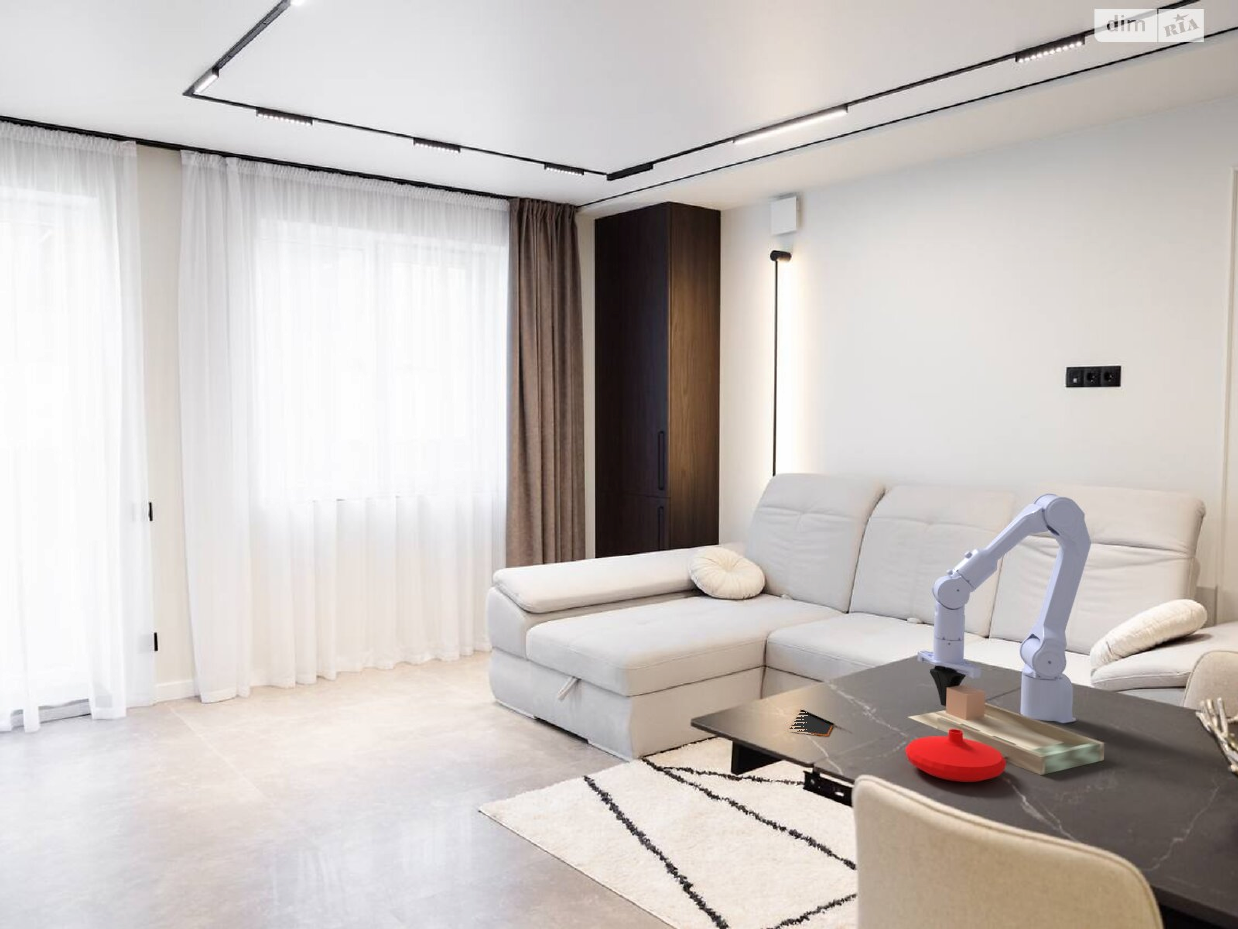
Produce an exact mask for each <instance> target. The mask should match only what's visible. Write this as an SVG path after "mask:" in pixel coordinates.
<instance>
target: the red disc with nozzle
mask: <svg viewBox="0 0 1238 929" xmlns="http://www.w3.org/2000/svg"><path fill="white" fill-rule="evenodd" d="M947 734H948V735H947V736H944V735H943V736H942V735H940V736H939V735H937V736H933V735H932V736H924V737H923V736H922V737H920V738H916V739H914V740H912V741H911V742H910V743H908V745H907V746H905V749H904V750H905V754H906V757H907V760H908V761H909V763H910V764H912V765H913V766H914V767H915V768H917V769H918V770H919V769H920V770H921V771H923V772H925V773H927V774H928V775H930V776H933V777H936V778H938V779H942V780H947V781H952V782H961V783H965V782H966V783H975V782H982V781H984V780H989V779H993V778H996V777H998V776H1001V774H1003V772H1004V770H1005V769H1006V766H1007V762H1006V760H1005V759H1004V757H1005V756H1004V755H1002V754H1001V753H1000V752H999V751H997V750H996V749H995V748H993V747H990V746H988V745H986V744H983V743H980V742H977V741H973V740H968V739H963V731H961V730H958V729H950V730H949V733H947Z"/></svg>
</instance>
